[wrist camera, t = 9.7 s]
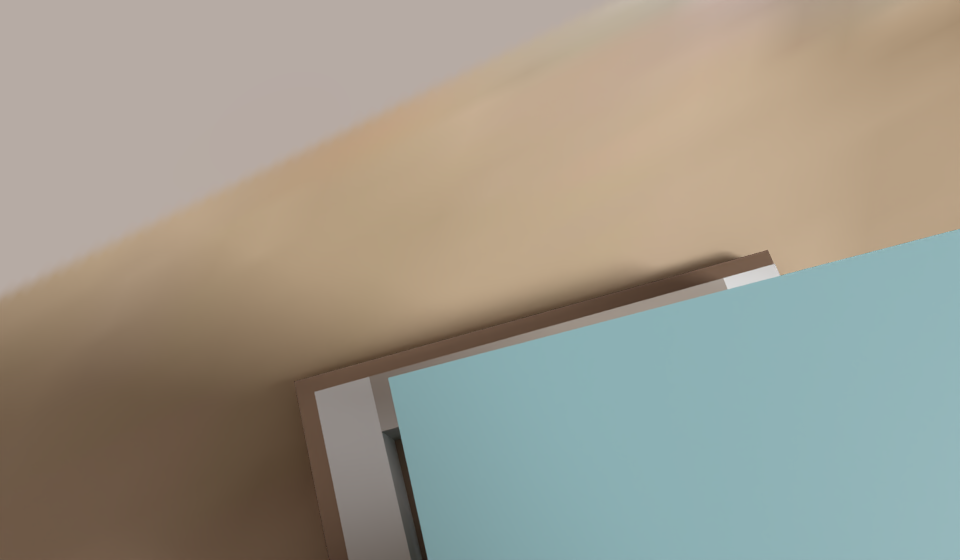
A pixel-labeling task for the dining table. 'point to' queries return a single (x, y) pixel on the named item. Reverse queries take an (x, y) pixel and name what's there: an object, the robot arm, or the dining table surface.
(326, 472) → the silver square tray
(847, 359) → the block
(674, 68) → the dining table surface
